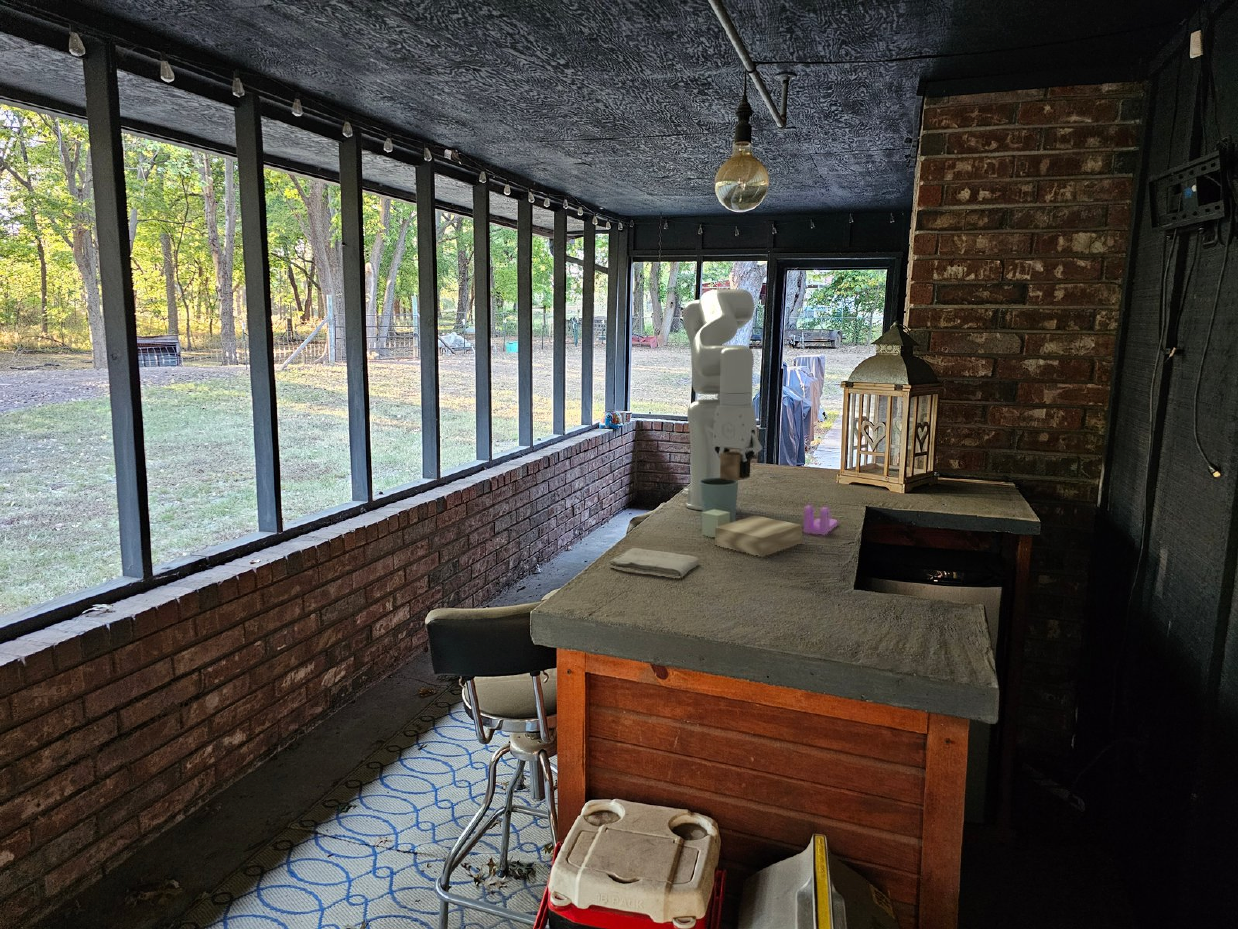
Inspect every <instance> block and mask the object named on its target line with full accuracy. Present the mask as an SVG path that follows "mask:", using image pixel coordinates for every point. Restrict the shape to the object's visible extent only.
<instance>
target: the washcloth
mask: <svg viewBox="0 0 1238 929" xmlns="http://www.w3.org/2000/svg"><path fill="white" fill-rule="evenodd" d="M608 564H609V565H613V566H616V567H622V568H630V569H634V570H638V571H643V572H655V573H660V574H666V575H675V576H680V577H682V576H684V575H685V574H686V575H687V574H688V573H689V572H690V571H689V570H690V569H692V568H694V567H695V568H696V566H697V565H698V566H699V564H700V559H699V557H697V556H694V555H689V554H688V555H687V554H680V553H677V552H676V553H675V552H671V551H660V550H652V549H644V548H638V547H631V548H630V549H626V551H625V552H624V553H622V554H619V555H618V556H616V557H614V558H612V559H610V560H609V563H608ZM698 566H697V567H698ZM695 568H694V569H695ZM688 571H689V572H688ZM687 572H688V573H687ZM686 575H685V576H686ZM685 576H684V577H685ZM682 578H683V577H682Z"/></svg>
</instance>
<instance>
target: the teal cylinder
mask: <svg viewBox="0 0 1238 929" xmlns="http://www.w3.org/2000/svg"><path fill="white" fill-rule="evenodd" d="M700 489H701V499H702V510H701V511H702V513H703V512H706V511H710V510H713V509H716V510H721V511H726V512H730V523H731V522H735V521H736V515H737V502H738V501H737V499H738V491H739V490H738V489H739V480H738V481H735V480H729V479H723V478H720V477H714V478H706V479H703V480H701V481H700ZM702 513H701V514H702Z"/></svg>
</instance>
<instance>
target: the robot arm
mask: <svg viewBox="0 0 1238 929" xmlns="http://www.w3.org/2000/svg"><path fill="white" fill-rule="evenodd" d="M682 309H683V311H682V321H683V327H684V330H685V334H686V335H687V339H688V341H689V346H690V353H691V354H690V356H691V358H690V359H691V360H690V362H691V368H690V369H691V385H692V389H693V391H694V392H695V393H696V394H699V395H707V396H708V395H711V396H712V395H713V396H714V395H716V398H712V399H711V398H710V399H707V398H706V399H698V400H695V401H693V402H691V403H690V404H689V406H688V408H687V414H686V415H687V422H688V429H689V438H690V439H689V440H690V442H689V443H690V445H689V446H690V488H684V489H683V491H682V492H681V496H683V497H687V500H685V503H684V504H685V507H686V508H688V509H691V510H699V511H703V510H702V499H701V489H700V481H701V480H703V479H706V478H714V477H720V453H725V452H730V451H732V450H739V452H740V453H741V458H742V461H740V478H746V477H749V476H750V477H751V461H753V459H754V457H755V456H756V455H757V454H759V452H761V451H762V450H763V446H762V444H761V442H760V441H759V439H758V428H757V427H758V426H757V416H756V415H757V414H756V410H755V406H754V405H753V372H754V370H753V368H754V365H755V363H754V362H755V361H754V360H755V358H754V356H755V355H754V353H753V350H752V349H751V348H749V347H748V346H747V345H742V344H741V345H737V344H736V345H732V344H730V345H728V344H727V343H728V342H729V341H730V342H731V340H732V339H734V337H735V336H736V335H737V333H738V330H739V329H740V330H741V329H743V328H744V327H745V325H746V324H748V323H749V322H750V321H751V320H752V318H753V315H754V311H755V301H754V297H753V295H752V294H751V292H750V291H749V290H747V289H743V288H734V289H733V288H727V289H726V288H725V289H724V288H723V289H721V288H720V289H717V288H716V289H710V290H708V291H706V292H704V293H703V294H702V295H701V297H700V299H694V300H689V301H688V302H686V303H685V304H684V306H683V308H682ZM725 343H726V344H725ZM724 344H725V345H724ZM731 449H732V450H731Z"/></svg>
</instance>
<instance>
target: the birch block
mask: <svg viewBox="0 0 1238 929" xmlns="http://www.w3.org/2000/svg"><path fill="white" fill-rule="evenodd" d="M802 532H803V525H802V524H799V523H794V522H789V521H784V520H779V519H774V518H769V517H763V516H759V515H753V516H752V515H751V516H749V517H745V518H741V519H739V520H735V522H731V523H728V524H725V525H721V526H718V527H715V538H714V546H715V545H717V546H716V547H719V546H720V548H723V547H724V549H727V548H729V549H728V550H731V549H733V551H735V550H736V552H739V551H743V552H746V553H745V554H748V553H749V554H748V555H751V556H756V555H758V556H757V557H760V556H761V558H764V557H767V556H770V555H772V554H776V553H778V552H780V551H784V550H787V549H789V548H793V547H796V546H798V545H800V544H802V540H803V538H802V536H803V535H802V534H803V533H802ZM797 544H798V545H797ZM786 548H787V549H786ZM783 549H784V550H783ZM777 551H778V552H777ZM743 552H742V553H743ZM766 555H767V556H766Z"/></svg>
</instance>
